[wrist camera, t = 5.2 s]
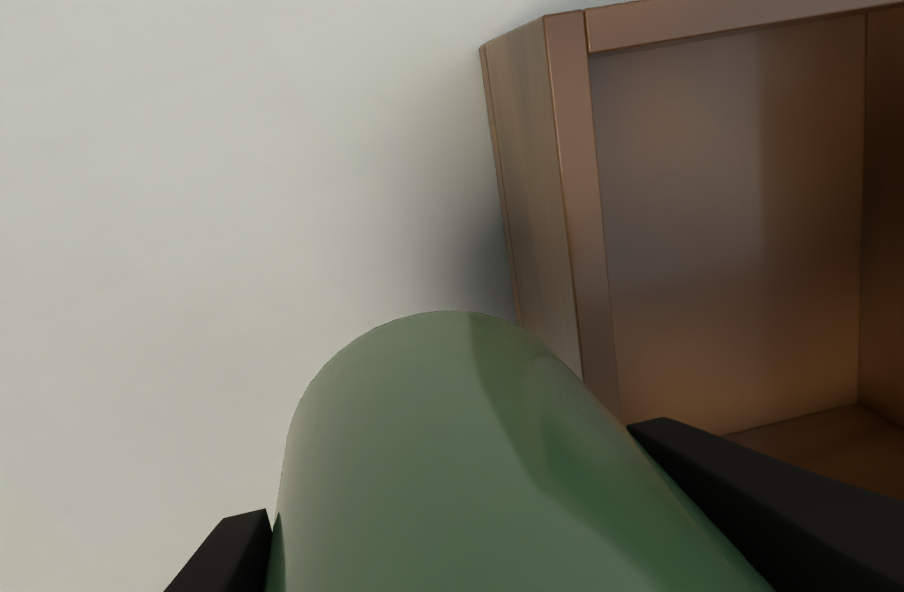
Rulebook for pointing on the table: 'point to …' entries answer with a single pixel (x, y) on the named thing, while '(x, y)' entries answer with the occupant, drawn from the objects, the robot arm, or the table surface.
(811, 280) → the box
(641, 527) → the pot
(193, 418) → the table surface
